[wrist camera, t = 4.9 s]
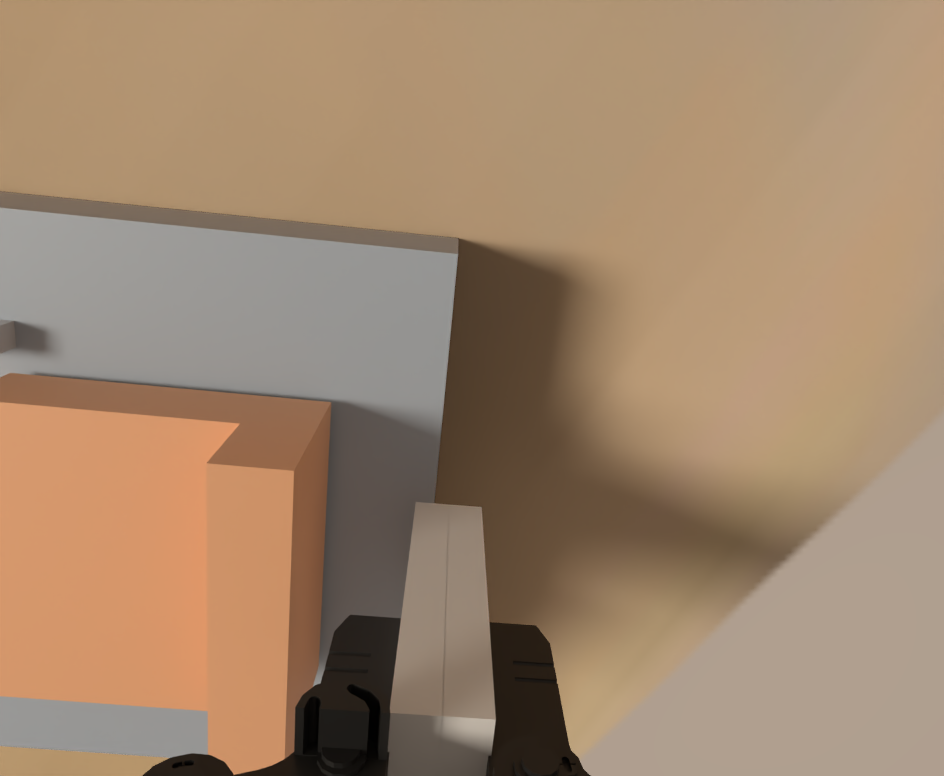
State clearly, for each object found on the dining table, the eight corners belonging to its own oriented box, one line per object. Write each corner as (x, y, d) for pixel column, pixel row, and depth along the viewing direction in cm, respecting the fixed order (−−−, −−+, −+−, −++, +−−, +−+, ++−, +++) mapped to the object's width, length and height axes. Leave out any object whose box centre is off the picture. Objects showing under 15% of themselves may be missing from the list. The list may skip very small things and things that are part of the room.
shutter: (10, 372, 16) (-124, 434, 12) (331, 401, 16) (293, 470, 13) (33, 644, 18) (-75, 766, 14) (319, 666, 18) (283, 790, 15)
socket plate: (-260, 165, 18) (-472, 164, 14) (458, 238, 19) (457, 258, 15) (-172, 641, 22) (-316, 750, 18) (415, 685, 23) (406, 798, 19)
